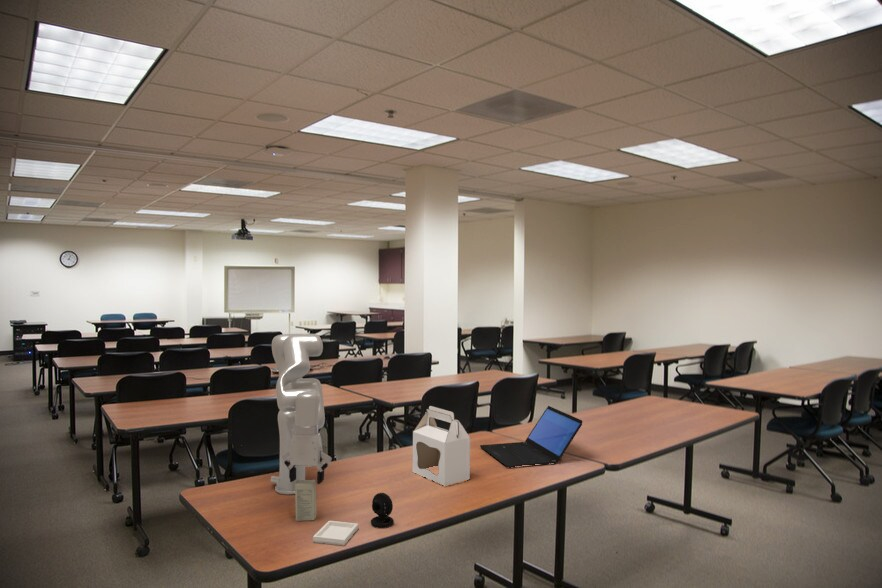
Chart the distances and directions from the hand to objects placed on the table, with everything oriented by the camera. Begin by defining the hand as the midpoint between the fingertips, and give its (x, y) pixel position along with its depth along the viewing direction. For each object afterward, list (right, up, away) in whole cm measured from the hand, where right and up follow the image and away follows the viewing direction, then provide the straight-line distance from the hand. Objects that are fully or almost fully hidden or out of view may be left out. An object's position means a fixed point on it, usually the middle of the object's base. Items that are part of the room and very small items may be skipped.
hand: (306, 481), depth 184 cm
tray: (+12, -13, -12) cm, 21 cm away
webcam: (+25, -13, -3) cm, 29 cm away
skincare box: (0, -13, +1) cm, 13 cm away
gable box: (+45, -13, +44) cm, 64 cm away
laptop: (+86, -14, +77) cm, 116 cm away
